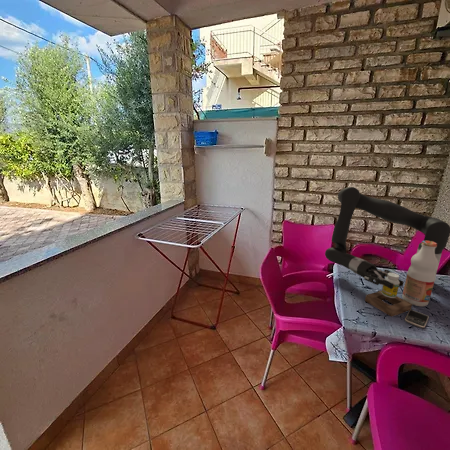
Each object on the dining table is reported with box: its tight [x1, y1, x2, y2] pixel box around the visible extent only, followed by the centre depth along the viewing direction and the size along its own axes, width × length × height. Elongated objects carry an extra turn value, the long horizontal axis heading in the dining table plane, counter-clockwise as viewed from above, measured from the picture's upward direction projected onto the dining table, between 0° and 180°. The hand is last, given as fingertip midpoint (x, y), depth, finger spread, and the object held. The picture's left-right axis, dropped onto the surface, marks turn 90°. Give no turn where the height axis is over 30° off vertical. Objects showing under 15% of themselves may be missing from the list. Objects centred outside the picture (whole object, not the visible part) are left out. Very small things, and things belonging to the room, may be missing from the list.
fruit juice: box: [401, 240, 440, 307], centre depth 104 cm, size 9×9×28 cm
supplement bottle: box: [381, 272, 400, 298], centre depth 102 cm, size 5×5×10 cm
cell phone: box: [404, 308, 430, 329], centre depth 96 cm, size 6×11×1 cm, turn 133°
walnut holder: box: [364, 290, 413, 318], centre depth 104 cm, size 12×12×3 cm
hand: (397, 285), depth 99 cm, fingers closed on supplement bottle, 5 cm apart
